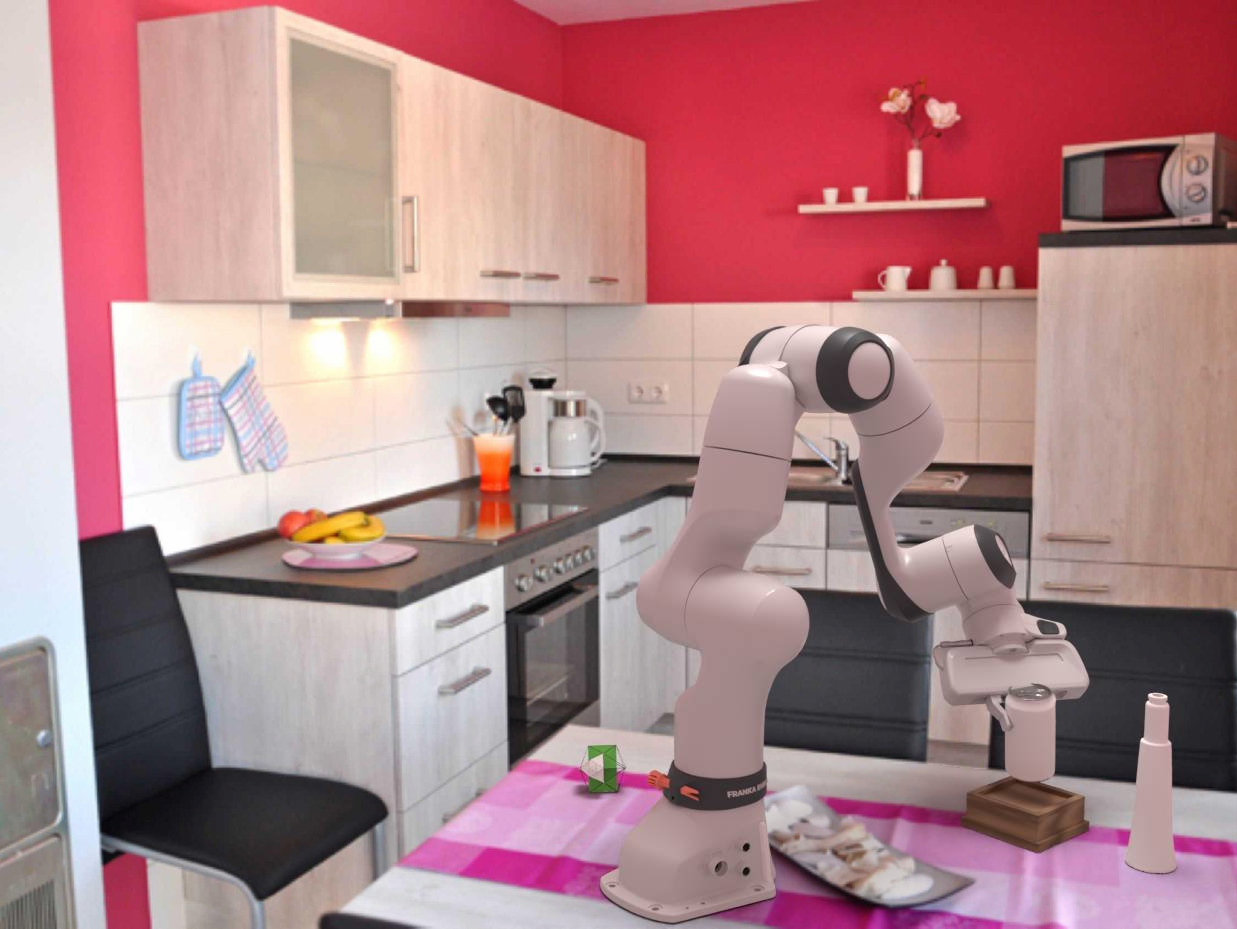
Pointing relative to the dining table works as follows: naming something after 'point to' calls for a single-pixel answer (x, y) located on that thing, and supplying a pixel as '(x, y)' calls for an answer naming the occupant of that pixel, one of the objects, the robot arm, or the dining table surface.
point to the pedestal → (1025, 813)
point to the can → (1030, 733)
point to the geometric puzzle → (602, 768)
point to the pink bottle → (1153, 795)
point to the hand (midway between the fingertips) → (1029, 728)
